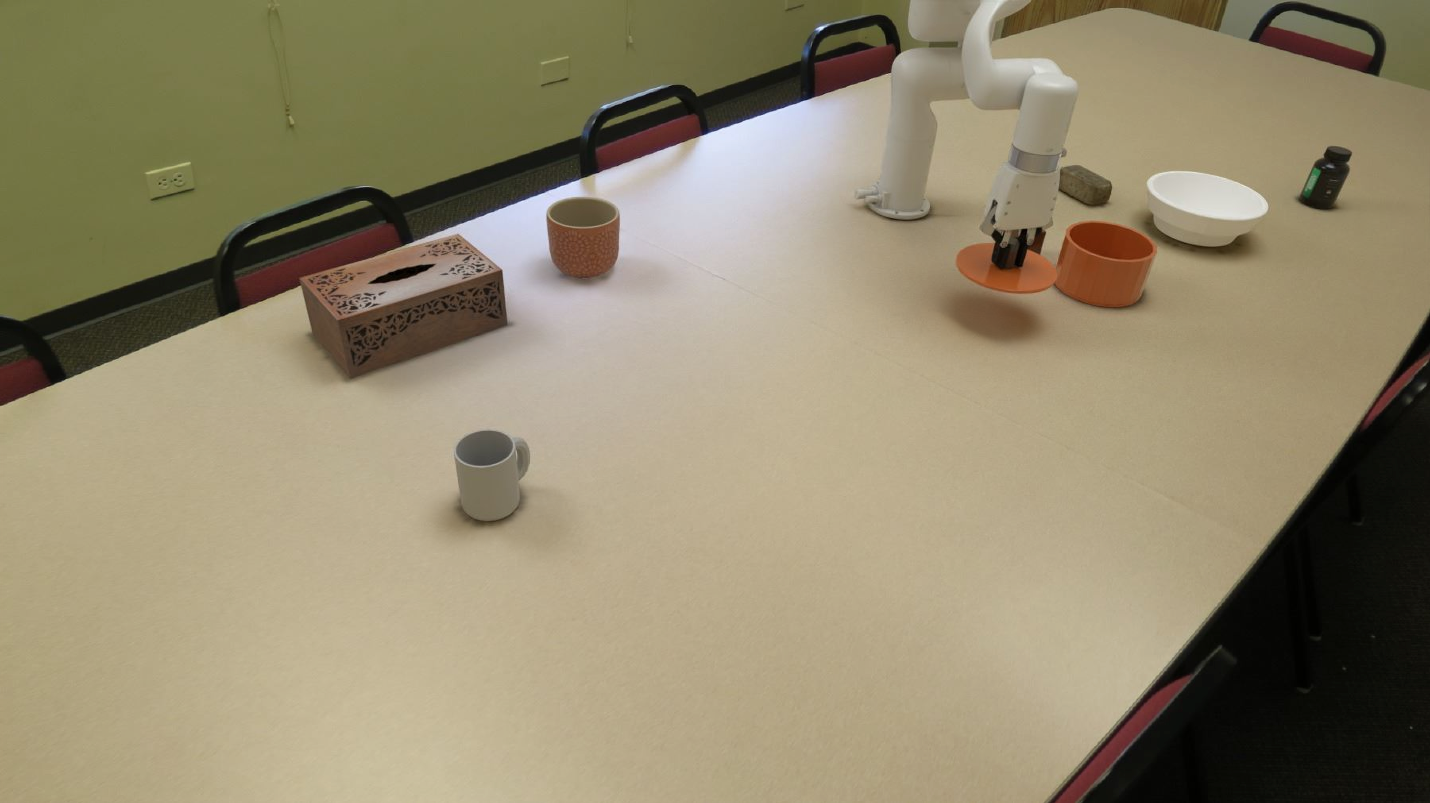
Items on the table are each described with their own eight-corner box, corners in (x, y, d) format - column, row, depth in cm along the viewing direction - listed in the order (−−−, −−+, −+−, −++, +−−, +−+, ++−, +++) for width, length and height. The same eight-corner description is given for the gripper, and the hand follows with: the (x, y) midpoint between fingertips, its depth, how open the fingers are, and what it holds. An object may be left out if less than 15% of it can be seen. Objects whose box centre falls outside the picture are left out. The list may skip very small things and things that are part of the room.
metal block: (1015, 263, 178) (1022, 234, 175) (1001, 250, 182) (1008, 222, 179) (1038, 260, 180) (1046, 231, 176) (1024, 248, 184) (1032, 219, 180)
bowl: (1246, 220, 199) (1262, 182, 194) (1258, 268, 182) (1275, 228, 177) (1133, 200, 204) (1146, 163, 199) (1134, 245, 187) (1148, 205, 182)
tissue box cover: (350, 378, 139) (337, 320, 133) (312, 334, 148) (299, 277, 142) (507, 325, 153) (502, 269, 147) (464, 287, 161) (458, 233, 155)
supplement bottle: (1299, 205, 206) (1323, 152, 199) (1297, 193, 212) (1320, 141, 204) (1334, 212, 205) (1360, 158, 197) (1331, 200, 210) (1355, 147, 203)
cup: (449, 503, 119) (441, 448, 114) (512, 465, 126) (507, 411, 120) (486, 531, 116) (479, 476, 110) (549, 491, 122) (545, 437, 117)
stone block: (1090, 208, 200) (1096, 186, 197) (1050, 187, 208) (1056, 165, 205) (1110, 204, 202) (1116, 181, 199) (1070, 183, 210) (1076, 161, 207)
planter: (632, 262, 171) (632, 206, 165) (597, 293, 162) (595, 234, 155) (573, 246, 175) (571, 190, 169) (535, 274, 166) (531, 217, 159)
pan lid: (985, 302, 150) (993, 270, 146) (937, 253, 162) (943, 223, 159) (1075, 291, 154) (1085, 260, 151) (1021, 245, 167) (1029, 215, 163)
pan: (1084, 311, 165) (1099, 265, 160) (1036, 268, 177) (1048, 224, 172) (1158, 302, 169) (1176, 257, 164) (1107, 261, 181) (1121, 217, 176)
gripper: (1065, 145, 151) (1036, 249, 162) (975, 152, 147) (951, 258, 158) (1093, 164, 146) (1061, 270, 157) (1000, 171, 142) (974, 280, 153)
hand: (1006, 263), depth 157 cm, fingers closed on pan lid, 2 cm apart
